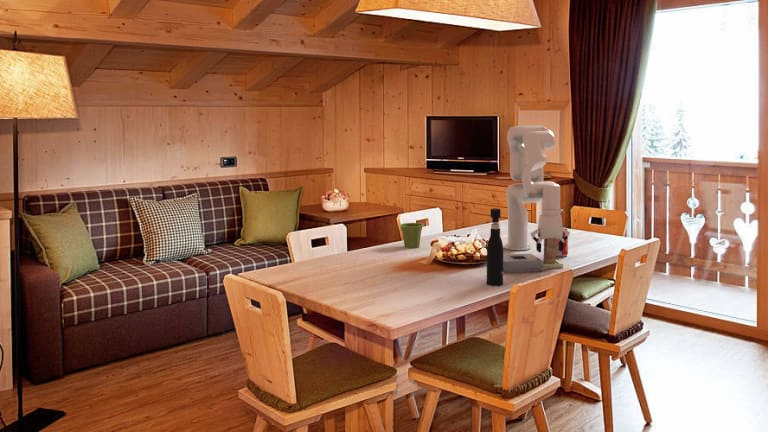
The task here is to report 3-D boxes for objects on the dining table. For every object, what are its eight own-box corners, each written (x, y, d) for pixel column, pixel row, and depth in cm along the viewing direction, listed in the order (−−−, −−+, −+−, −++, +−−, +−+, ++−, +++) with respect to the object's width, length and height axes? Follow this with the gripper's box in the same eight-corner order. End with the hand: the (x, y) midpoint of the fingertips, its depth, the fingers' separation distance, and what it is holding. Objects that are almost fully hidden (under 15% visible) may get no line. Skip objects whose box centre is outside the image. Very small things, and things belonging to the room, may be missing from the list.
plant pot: (411, 243, 382) (411, 221, 380) (428, 246, 374) (428, 224, 372) (394, 247, 374) (394, 224, 373) (411, 250, 366) (411, 227, 364)
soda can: (568, 257, 345) (568, 229, 343) (551, 257, 347) (552, 229, 345) (567, 254, 352) (568, 226, 350) (551, 253, 354) (552, 226, 352)
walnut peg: (543, 263, 330) (544, 227, 328) (552, 263, 330) (553, 227, 328) (546, 265, 326) (547, 229, 324) (555, 265, 327) (556, 229, 324)
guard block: (495, 266, 329) (495, 254, 329) (531, 264, 331) (531, 253, 331) (504, 273, 316) (504, 261, 315) (541, 271, 318) (541, 260, 317)
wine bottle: (485, 282, 301) (485, 208, 296) (500, 282, 301) (501, 207, 297) (488, 286, 295) (489, 210, 290) (504, 285, 295) (505, 210, 290)
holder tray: (536, 264, 332) (536, 260, 332) (555, 263, 333) (556, 259, 333) (543, 268, 323) (543, 264, 323) (563, 267, 325) (563, 263, 324)
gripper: (566, 210, 329) (565, 249, 332) (528, 211, 327) (527, 250, 330) (573, 213, 322) (572, 252, 325) (534, 214, 320) (533, 253, 323)
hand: (549, 251), depth 327 cm, fingers open, 9 cm apart
